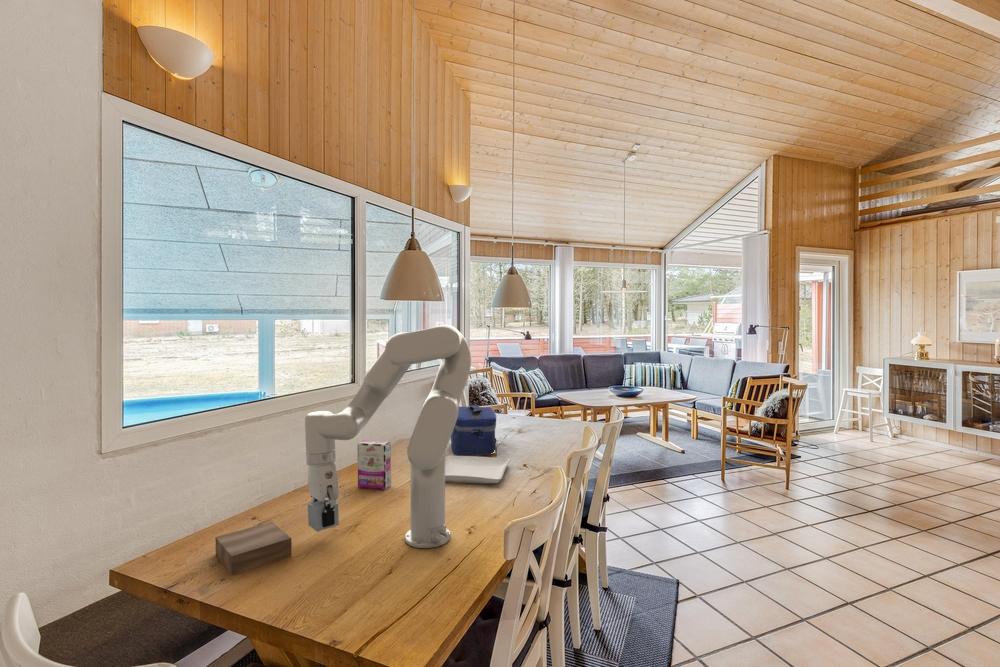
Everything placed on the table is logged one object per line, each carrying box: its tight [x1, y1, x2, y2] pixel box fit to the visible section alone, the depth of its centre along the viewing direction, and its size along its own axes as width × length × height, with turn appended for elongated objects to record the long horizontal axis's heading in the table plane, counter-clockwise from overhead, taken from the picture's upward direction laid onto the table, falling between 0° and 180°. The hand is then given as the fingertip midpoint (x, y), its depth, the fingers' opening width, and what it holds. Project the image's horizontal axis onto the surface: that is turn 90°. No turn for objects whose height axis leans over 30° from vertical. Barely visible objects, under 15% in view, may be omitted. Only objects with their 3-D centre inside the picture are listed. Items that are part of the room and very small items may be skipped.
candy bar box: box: [357, 440, 392, 491], centre depth 178 cm, size 11×5×16 cm, turn 76°
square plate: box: [445, 455, 511, 485], centre depth 193 cm, size 27×27×4 cm
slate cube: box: [307, 497, 340, 533], centre depth 134 cm, size 6×6×6 cm
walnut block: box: [215, 521, 292, 576], centre depth 126 cm, size 14×14×5 cm
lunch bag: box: [450, 404, 497, 456], centre depth 231 cm, size 31×21×20 cm
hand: (323, 521), depth 134 cm, fingers closed on slate cube, 6 cm apart
